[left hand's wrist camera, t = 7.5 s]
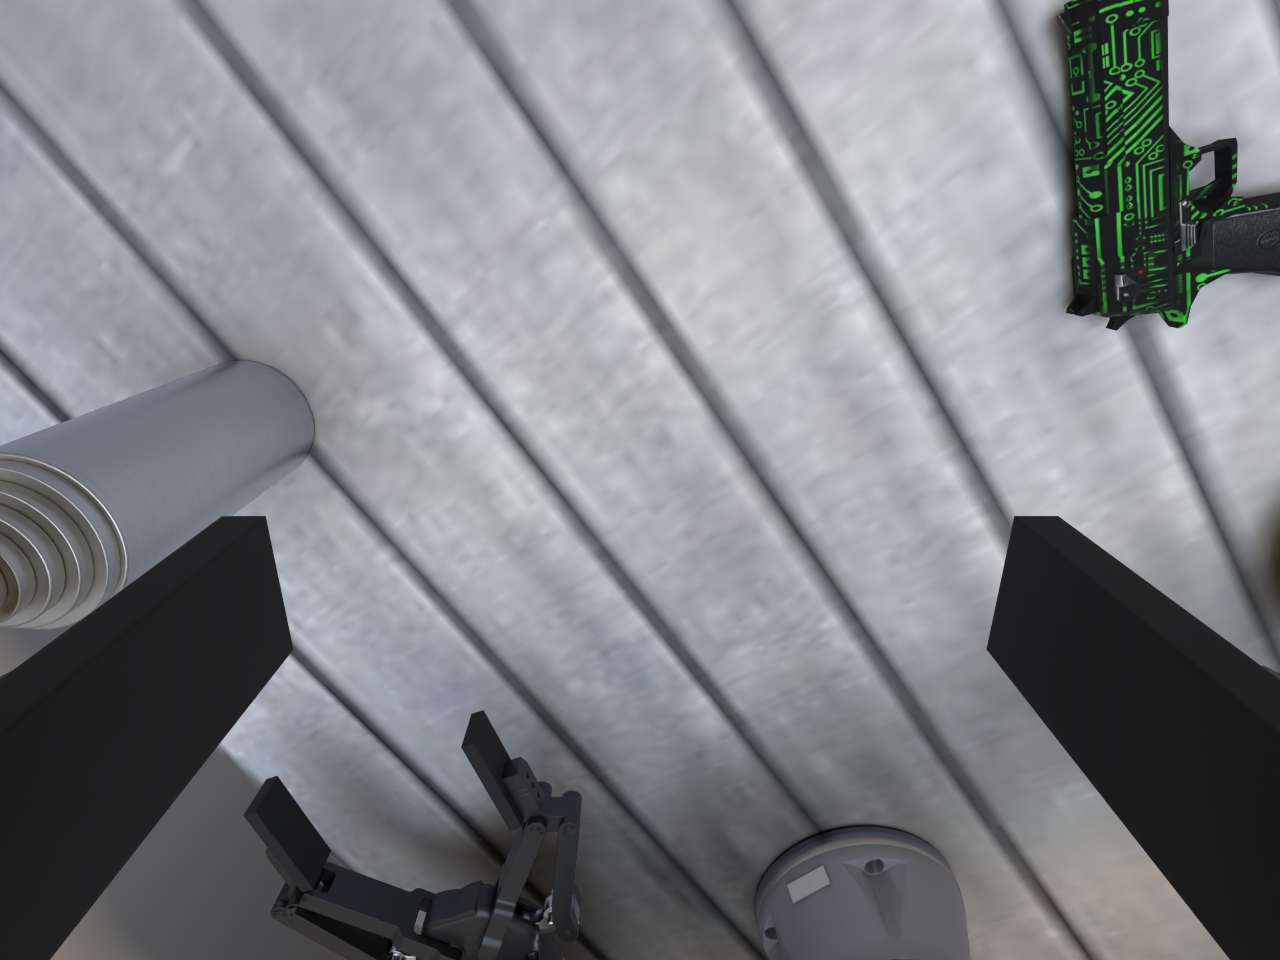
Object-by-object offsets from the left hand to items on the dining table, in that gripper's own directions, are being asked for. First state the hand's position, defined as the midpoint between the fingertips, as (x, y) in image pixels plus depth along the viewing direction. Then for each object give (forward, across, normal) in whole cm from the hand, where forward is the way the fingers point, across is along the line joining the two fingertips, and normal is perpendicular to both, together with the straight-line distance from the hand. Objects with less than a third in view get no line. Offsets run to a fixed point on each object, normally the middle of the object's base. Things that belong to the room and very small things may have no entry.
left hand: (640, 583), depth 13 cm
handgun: (+28, +28, +8) cm, 40 cm away
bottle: (+28, -22, -5) cm, 36 cm away
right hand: (+21, -16, -23) cm, 35 cm away
